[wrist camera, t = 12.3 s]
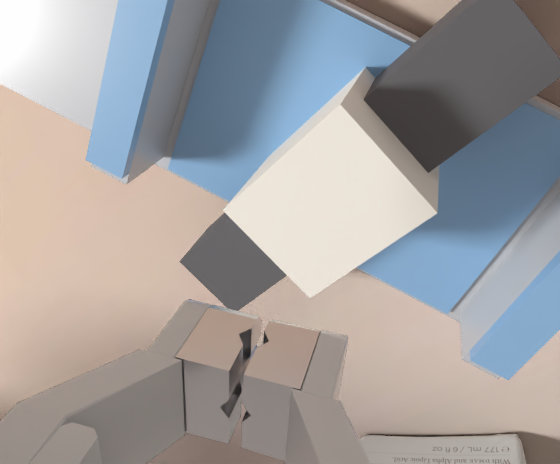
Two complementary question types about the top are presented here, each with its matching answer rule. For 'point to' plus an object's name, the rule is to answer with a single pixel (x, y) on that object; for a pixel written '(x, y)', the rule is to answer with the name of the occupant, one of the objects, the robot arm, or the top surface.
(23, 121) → the top surface
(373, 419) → the top surface
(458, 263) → the slider rail
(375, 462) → the skincare box
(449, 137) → the grey post with collar
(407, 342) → the top surface
